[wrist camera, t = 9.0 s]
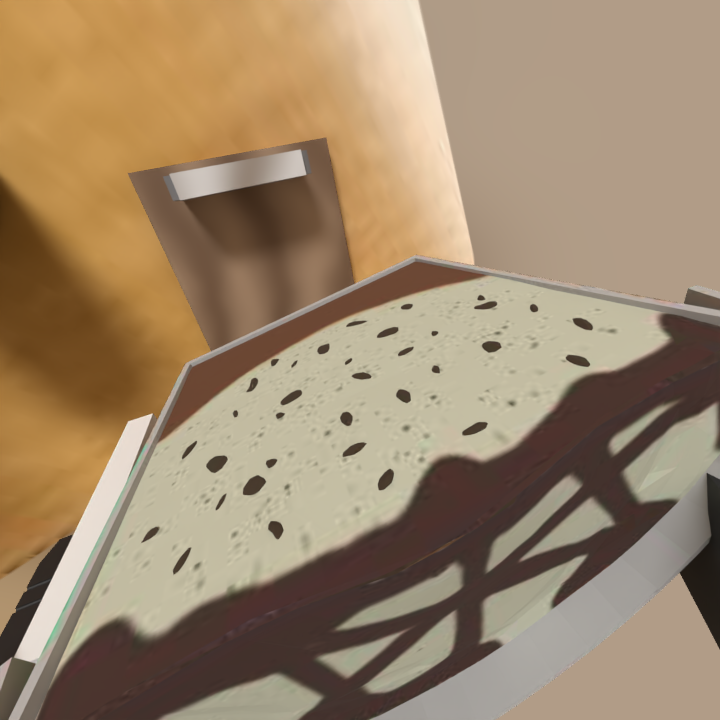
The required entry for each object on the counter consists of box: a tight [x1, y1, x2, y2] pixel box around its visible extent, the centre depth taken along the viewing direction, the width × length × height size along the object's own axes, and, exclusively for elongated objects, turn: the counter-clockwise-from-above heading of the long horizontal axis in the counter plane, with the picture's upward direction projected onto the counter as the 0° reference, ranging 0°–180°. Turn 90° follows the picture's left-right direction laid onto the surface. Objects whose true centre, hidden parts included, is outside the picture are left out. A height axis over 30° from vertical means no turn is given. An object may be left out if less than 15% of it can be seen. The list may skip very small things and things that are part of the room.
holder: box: [128, 138, 354, 351], centre depth 30 cm, size 16×20×7 cm
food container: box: [0, 255, 720, 720], centre depth 9 cm, size 12×6×10 cm, turn 110°
